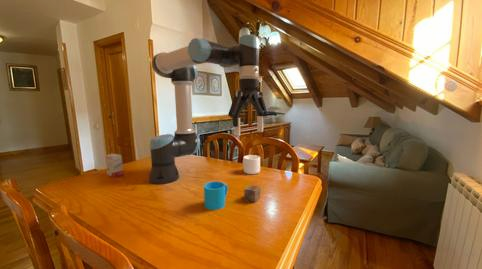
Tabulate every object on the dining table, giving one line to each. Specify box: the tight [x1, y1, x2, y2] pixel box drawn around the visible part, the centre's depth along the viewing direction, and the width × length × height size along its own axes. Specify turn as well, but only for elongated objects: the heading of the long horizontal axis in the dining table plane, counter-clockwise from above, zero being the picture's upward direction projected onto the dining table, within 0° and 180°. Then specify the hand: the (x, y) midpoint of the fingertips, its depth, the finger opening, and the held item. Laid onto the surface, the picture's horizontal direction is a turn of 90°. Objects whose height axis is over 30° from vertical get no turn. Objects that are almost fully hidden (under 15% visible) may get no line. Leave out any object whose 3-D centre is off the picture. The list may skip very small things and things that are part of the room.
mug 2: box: [242, 154, 261, 175], centre depth 122 cm, size 12×10×9 cm
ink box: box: [104, 153, 124, 178], centre depth 117 cm, size 9×5×12 cm, turn 58°
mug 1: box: [203, 181, 229, 211], centre depth 84 cm, size 12×8×8 cm
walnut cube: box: [243, 184, 261, 204], centre depth 87 cm, size 5×5×5 cm
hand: (249, 133), depth 83 cm, fingers open, 13 cm apart
